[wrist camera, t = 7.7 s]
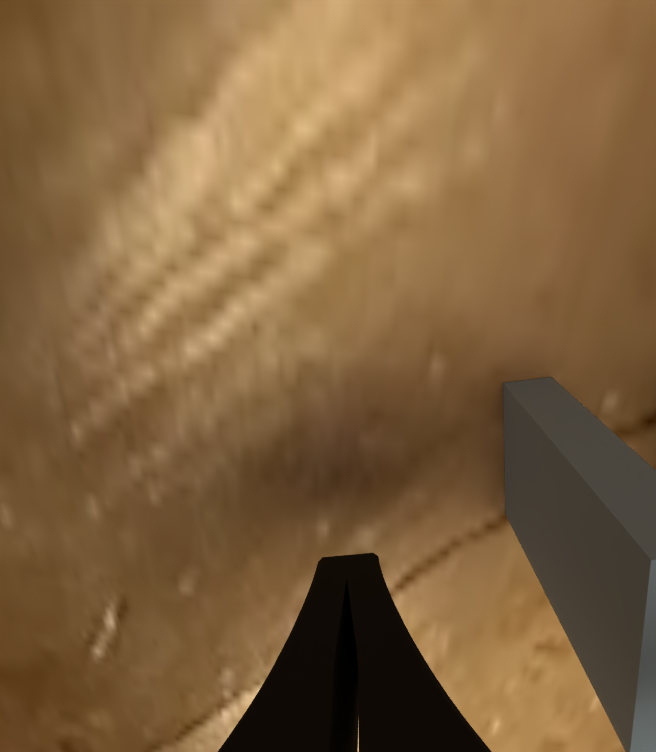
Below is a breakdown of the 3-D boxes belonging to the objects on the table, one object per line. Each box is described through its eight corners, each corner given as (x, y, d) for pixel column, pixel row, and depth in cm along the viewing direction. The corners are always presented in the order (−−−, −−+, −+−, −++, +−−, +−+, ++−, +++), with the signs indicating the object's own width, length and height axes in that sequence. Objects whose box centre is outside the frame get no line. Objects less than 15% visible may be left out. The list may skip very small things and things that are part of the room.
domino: (551, 376, 16) (746, 550, 8) (549, 509, 17) (706, 753, 10) (502, 382, 16) (650, 559, 8) (505, 513, 17) (629, 758, 10)
